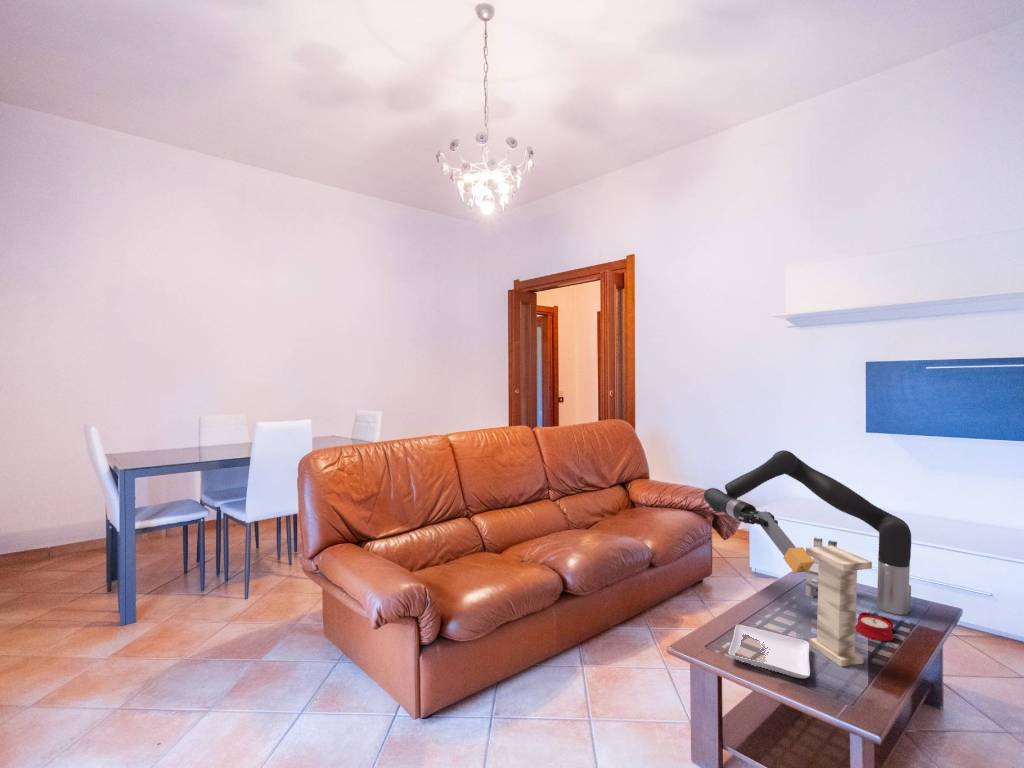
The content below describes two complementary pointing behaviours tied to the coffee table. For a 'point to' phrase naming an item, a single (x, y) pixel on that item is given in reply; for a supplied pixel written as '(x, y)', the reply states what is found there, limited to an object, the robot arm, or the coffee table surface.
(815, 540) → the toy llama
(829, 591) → the stand
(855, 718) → the coffee table surface
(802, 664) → the salad plate
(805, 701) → the coffee table surface
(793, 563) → the orange-tipped gray rod
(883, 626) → the alarm clock
